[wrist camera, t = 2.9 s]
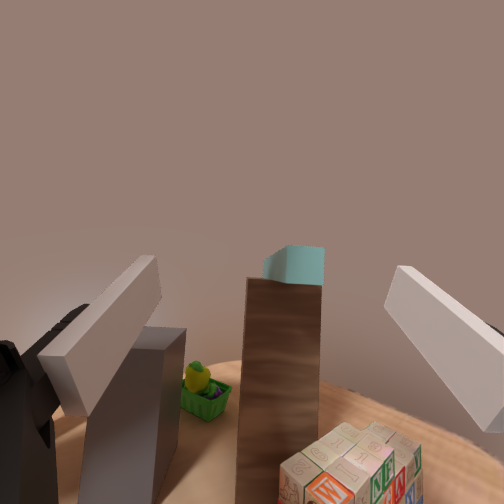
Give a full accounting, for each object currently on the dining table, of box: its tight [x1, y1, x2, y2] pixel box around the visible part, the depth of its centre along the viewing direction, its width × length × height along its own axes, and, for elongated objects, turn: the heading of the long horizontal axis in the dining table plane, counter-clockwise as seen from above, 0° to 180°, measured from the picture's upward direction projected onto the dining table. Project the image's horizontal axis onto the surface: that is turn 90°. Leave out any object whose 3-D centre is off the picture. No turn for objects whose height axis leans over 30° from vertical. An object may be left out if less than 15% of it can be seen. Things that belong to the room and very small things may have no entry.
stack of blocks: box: [278, 421, 423, 504], centre depth 27 cm, size 21×6×12 cm, turn 129°
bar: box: [263, 245, 325, 285], centre depth 34 cm, size 26×4×4 cm, turn 2°
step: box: [78, 326, 187, 504], centre depth 36 cm, size 12×9×20 cm
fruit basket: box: [180, 361, 232, 422], centre depth 52 cm, size 11×9×11 cm
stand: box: [235, 277, 322, 504], centre depth 37 cm, size 14×10×30 cm
